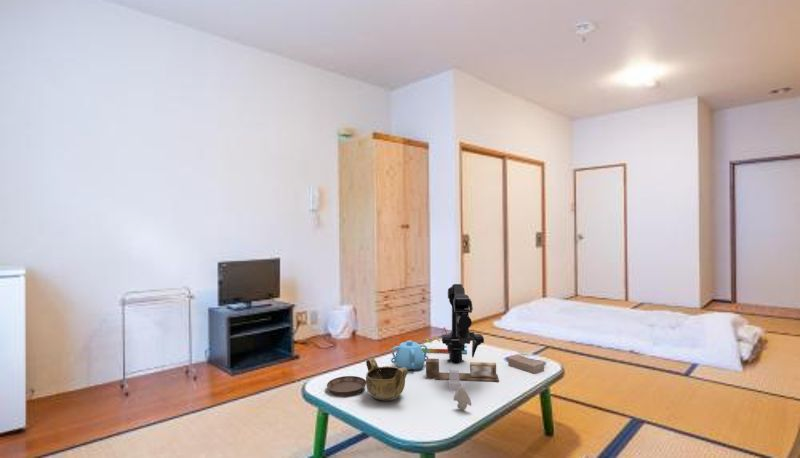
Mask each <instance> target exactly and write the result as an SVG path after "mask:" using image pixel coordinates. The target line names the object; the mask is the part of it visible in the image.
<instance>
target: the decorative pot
mask: <svg viewBox="0 0 800 458" xmlns="http://www.w3.org/2000/svg"><path fill="white" fill-rule="evenodd" d="M422 347H423V348H424V349H425V353H423V351H422V349H421V348H422ZM428 349H429V348H428V346H427V345H425V344H424V345H423V343H422V344H419V343H418V342H416V341H414V340H406V341H404V342H401V343H400V344H399V345H396V346H395V345H394V346H393V347H392V348H391V353H392V356H393V357H392V358H391V359H390V362H391V363H392V364H396V365H397V367H398V368H403V367H405V368H406V369H407V370H417V371H419V370H420V369H421V368H422V367H423V366H424V364H425V363H426V359H427V358H428V359H429V356H428V355H427V354H428V353H427V350H428ZM395 350H396V353H395Z"/></svg>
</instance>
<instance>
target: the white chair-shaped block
mask: <svg viewBox="0 0 800 458" xmlns="http://www.w3.org/2000/svg"><path fill="white" fill-rule="evenodd" d="M448 373H449V380H448V382H449V384H448V385H449V389H448V390H449V391H450V390H451V391H452V390H453V391H454V390H455V391H457V390H458V389H459V388H460V387H461V385H460V381H459V373H460V369H448Z"/></svg>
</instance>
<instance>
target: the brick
mask: <svg viewBox="0 0 800 458" xmlns="http://www.w3.org/2000/svg"><path fill="white" fill-rule="evenodd" d="M507 364H508V365H507V366H509V367H511V368H514V369H517V370H521V371H524V372H527V373H531V374H534V375H536V374H538V373H543V372H544V371H545V370H544V369H545V367H544V365H545V364H544V362H542V361H538V360H536V359H531V358H528V357H526V356H523V355H522V354H514V355H511V356H510V357H507Z"/></svg>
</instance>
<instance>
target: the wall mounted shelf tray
mask: <svg viewBox="0 0 800 458" xmlns="http://www.w3.org/2000/svg"><path fill="white" fill-rule="evenodd" d="M469 373H470V377H492V378H496V374H497V363H496V362H483V361H482V362H478V361H475V362H473V361H471V362H469Z"/></svg>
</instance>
